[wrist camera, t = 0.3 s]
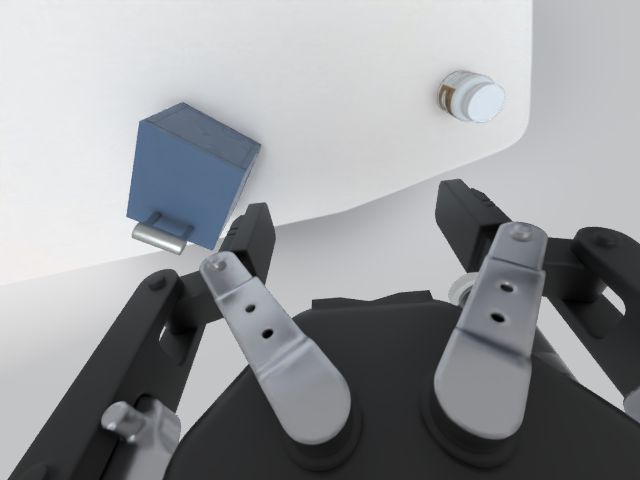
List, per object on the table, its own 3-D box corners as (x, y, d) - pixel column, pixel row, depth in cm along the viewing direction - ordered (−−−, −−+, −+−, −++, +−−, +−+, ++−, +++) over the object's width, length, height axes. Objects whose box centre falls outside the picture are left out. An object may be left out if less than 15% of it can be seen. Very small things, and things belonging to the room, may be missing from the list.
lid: (214, 246, 36) (199, 274, 31) (130, 213, 32) (101, 239, 28) (246, 170, 29) (232, 192, 25) (143, 119, 26) (108, 134, 22)
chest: (234, 208, 42) (216, 242, 35) (165, 177, 39) (131, 207, 32) (261, 144, 36) (246, 170, 29) (182, 102, 33) (144, 119, 26)
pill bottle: (429, 90, 32) (454, 102, 26) (465, 60, 30) (501, 66, 24) (446, 119, 34) (473, 137, 28) (480, 93, 32) (517, 106, 26)
